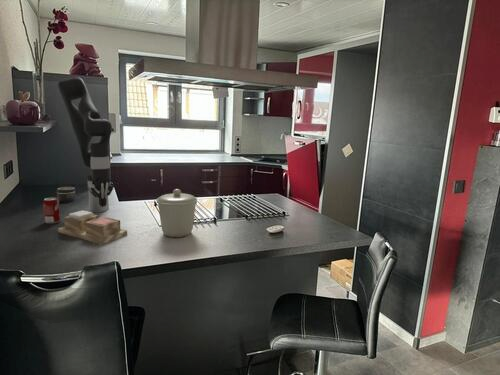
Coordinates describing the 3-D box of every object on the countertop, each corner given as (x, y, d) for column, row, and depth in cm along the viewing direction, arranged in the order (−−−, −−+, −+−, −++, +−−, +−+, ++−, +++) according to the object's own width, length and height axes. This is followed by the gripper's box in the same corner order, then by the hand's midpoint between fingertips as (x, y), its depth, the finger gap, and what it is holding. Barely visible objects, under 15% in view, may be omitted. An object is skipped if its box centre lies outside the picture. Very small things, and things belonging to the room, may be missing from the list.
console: (85, 224, 171) (84, 210, 169) (127, 234, 158) (126, 219, 157) (58, 232, 159) (57, 217, 157) (101, 244, 146) (100, 228, 145)
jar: (54, 200, 214) (53, 188, 213) (70, 197, 223) (69, 186, 221) (62, 203, 209) (62, 190, 207) (79, 200, 217) (78, 188, 215)
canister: (178, 243, 150) (177, 195, 145) (148, 235, 159) (147, 189, 155) (205, 232, 165) (205, 188, 160) (176, 225, 174) (176, 183, 170)
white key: (83, 216, 165) (82, 210, 164) (93, 218, 162) (93, 212, 161) (69, 220, 159) (69, 213, 158) (80, 222, 156) (79, 216, 155)
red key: (104, 224, 159) (103, 218, 159) (115, 227, 156) (114, 220, 155) (91, 228, 153) (90, 221, 152) (102, 231, 150) (101, 224, 149)
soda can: (53, 224, 169) (51, 200, 166) (41, 223, 170) (39, 199, 168) (63, 221, 175) (61, 197, 173) (51, 219, 177) (49, 196, 174)
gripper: (106, 164, 157) (109, 201, 160) (80, 167, 145) (83, 208, 149) (119, 165, 153) (121, 204, 157) (93, 169, 142) (96, 211, 145)
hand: (102, 206), depth 153 cm, fingers closed
